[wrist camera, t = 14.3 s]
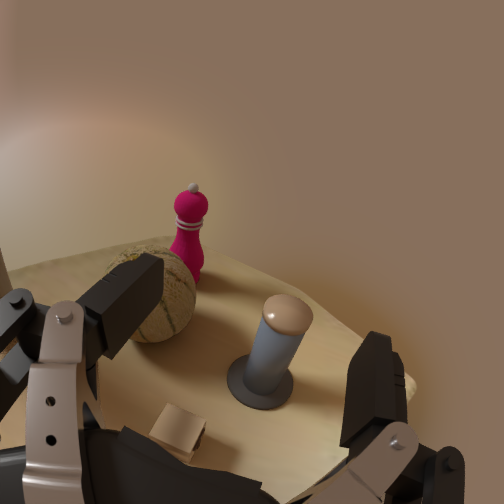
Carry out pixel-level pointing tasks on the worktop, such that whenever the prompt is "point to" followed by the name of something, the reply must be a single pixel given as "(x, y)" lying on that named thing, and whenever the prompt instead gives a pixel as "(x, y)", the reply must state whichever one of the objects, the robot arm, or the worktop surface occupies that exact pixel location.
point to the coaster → (253, 399)
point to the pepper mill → (190, 228)
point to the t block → (178, 432)
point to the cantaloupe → (164, 295)
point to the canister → (276, 342)
